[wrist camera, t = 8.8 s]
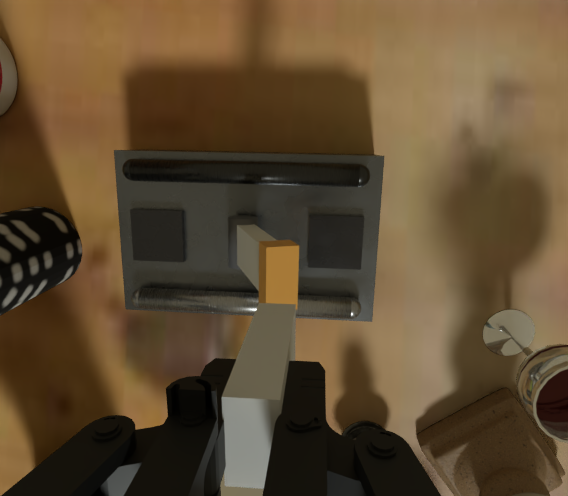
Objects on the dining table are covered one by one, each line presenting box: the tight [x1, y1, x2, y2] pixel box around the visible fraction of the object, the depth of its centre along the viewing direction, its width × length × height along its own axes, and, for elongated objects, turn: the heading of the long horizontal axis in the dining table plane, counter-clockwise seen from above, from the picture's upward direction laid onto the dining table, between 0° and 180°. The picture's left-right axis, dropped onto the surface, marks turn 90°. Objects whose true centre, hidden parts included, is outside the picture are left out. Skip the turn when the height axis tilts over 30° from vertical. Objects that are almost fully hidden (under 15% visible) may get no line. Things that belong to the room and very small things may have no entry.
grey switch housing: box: [114, 150, 384, 322], centre depth 38 cm, size 22×14×8 cm, turn 89°
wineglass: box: [483, 309, 568, 443], centre depth 36 cm, size 7×7×12 cm
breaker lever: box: [228, 215, 299, 310], centre depth 30 cm, size 2×4×11 cm, turn 178°
